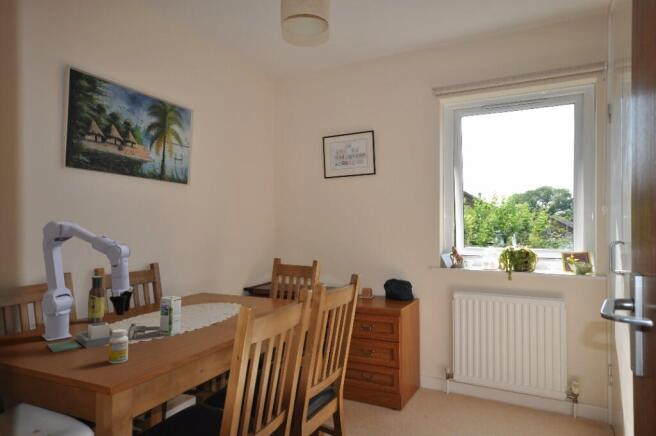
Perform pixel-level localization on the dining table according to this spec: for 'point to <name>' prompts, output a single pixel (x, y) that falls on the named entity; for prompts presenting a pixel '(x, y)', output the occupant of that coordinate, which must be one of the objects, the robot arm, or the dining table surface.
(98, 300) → the sauce bottle
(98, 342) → the grey square frame
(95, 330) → the block
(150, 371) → the dining table surface
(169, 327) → the syrup box
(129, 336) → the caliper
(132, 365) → the dining table surface
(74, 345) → the rubber mat
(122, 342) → the supplement bottle
